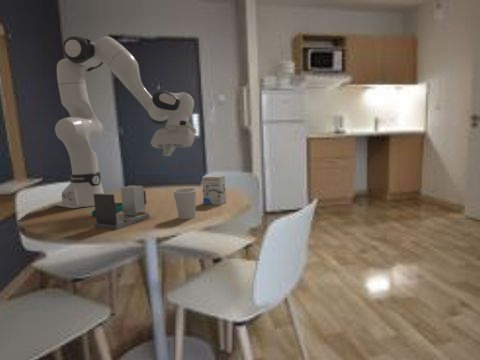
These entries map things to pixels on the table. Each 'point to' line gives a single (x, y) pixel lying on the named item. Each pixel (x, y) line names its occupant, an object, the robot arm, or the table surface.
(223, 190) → the ink box
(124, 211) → the tall grey rectangular prism
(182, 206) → the dixie cup
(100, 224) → the gauge bed
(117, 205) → the digital multimeter
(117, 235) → the table surface
